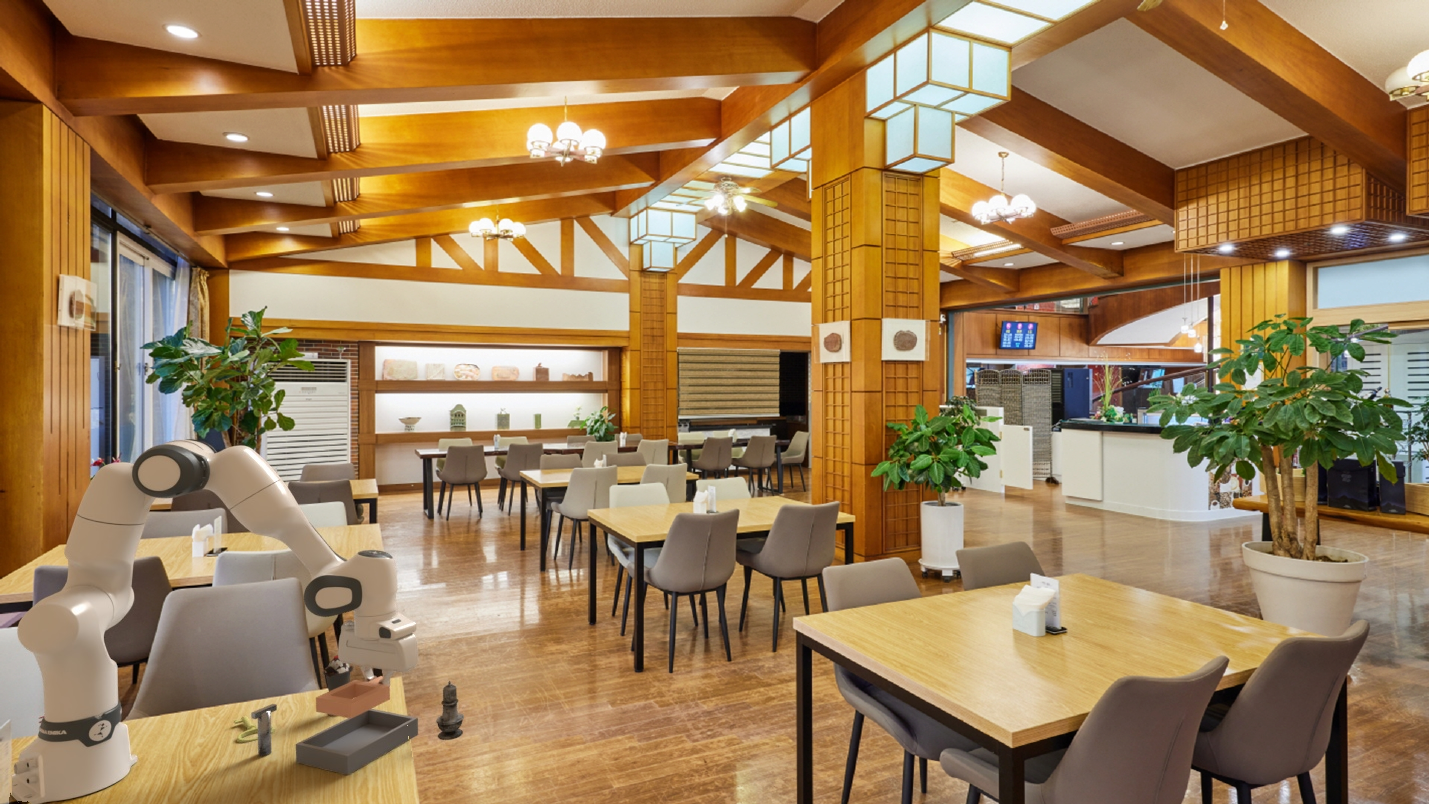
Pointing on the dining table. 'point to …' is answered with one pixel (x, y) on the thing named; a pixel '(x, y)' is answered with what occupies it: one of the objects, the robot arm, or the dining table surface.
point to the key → (248, 730)
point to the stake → (264, 728)
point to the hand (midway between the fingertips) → (377, 686)
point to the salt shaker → (450, 715)
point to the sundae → (337, 674)
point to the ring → (363, 695)
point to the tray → (356, 741)
